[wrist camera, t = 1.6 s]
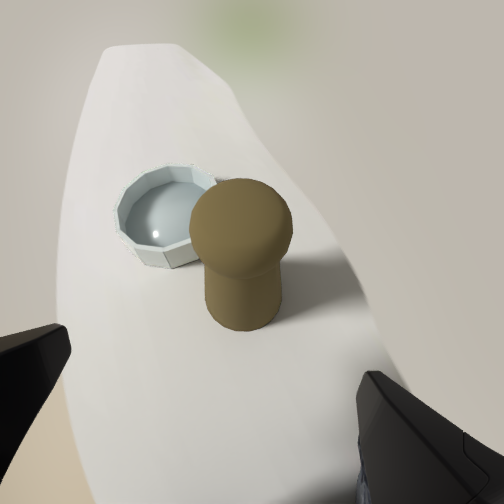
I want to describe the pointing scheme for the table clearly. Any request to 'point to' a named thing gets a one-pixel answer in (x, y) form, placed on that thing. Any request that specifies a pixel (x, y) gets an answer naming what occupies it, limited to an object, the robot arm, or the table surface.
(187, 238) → the bowl
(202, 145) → the table surface
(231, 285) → the cork
